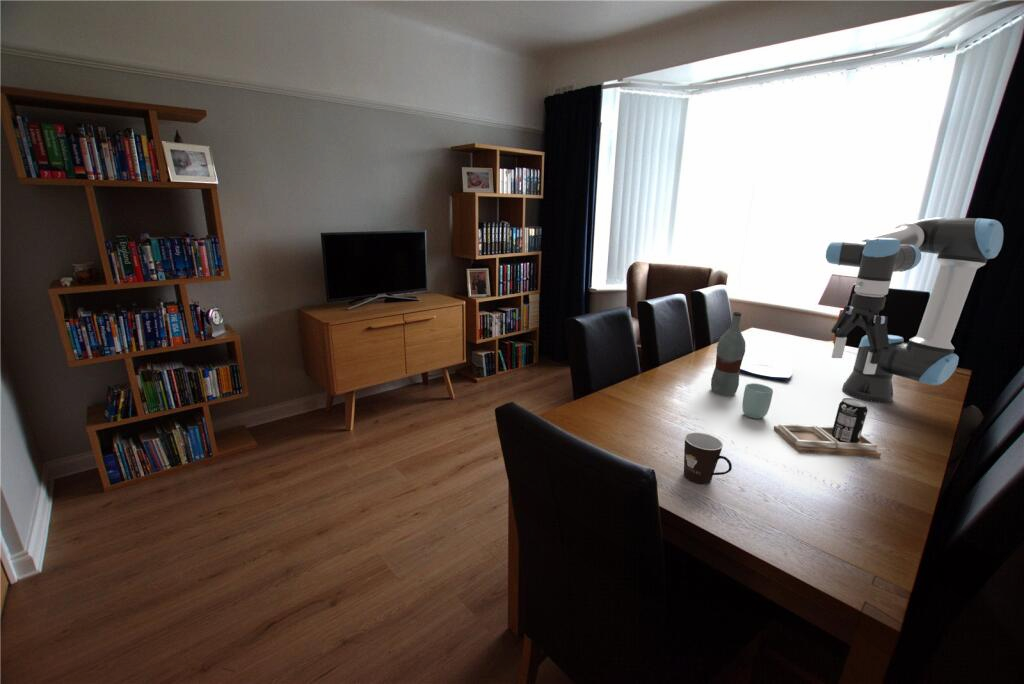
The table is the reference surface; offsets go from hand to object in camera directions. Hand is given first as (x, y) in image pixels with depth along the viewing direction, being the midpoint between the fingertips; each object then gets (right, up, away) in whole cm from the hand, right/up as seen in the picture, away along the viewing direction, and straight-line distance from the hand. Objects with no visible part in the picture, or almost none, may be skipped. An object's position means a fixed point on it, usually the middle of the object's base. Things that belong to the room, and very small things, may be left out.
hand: (851, 365), depth 134 cm
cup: (-21, -17, +15) cm, 31 cm away
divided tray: (-9, -22, -1) cm, 24 cm away
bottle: (-22, -12, +34) cm, 42 cm away
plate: (+6, -6, +58) cm, 59 cm away
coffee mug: (-54, -27, -23) cm, 65 cm away
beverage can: (-3, -22, -2) cm, 22 cm away
